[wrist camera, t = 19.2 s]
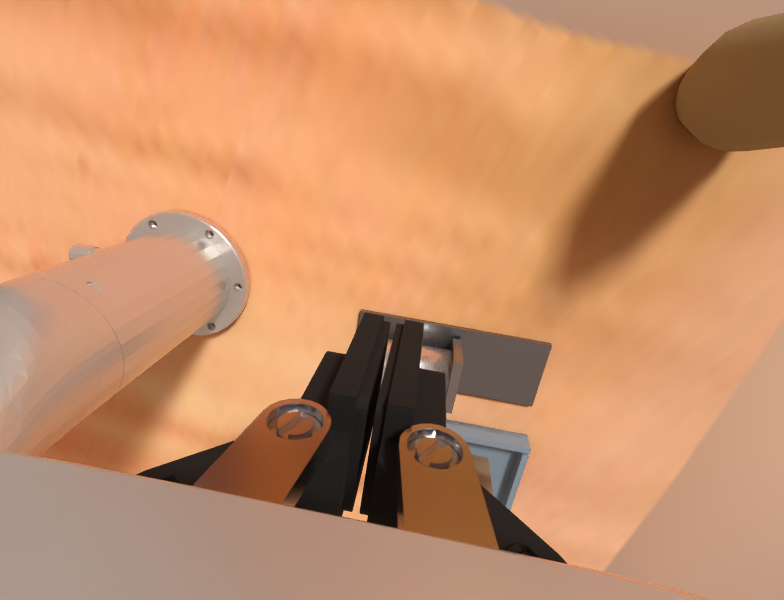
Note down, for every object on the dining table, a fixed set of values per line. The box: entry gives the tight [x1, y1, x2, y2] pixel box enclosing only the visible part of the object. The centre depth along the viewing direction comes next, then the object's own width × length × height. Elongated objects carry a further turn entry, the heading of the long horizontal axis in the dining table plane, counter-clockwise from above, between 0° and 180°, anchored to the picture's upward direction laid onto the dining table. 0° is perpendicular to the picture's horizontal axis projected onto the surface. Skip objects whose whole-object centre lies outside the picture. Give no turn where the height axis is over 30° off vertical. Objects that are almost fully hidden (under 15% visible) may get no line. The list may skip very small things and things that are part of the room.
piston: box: [381, 338, 463, 414], centre depth 39 cm, size 9×5×5 cm, turn 81°
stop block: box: [472, 455, 493, 495], centre depth 43 cm, size 4×4×6 cm
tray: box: [446, 420, 531, 510], centre depth 45 cm, size 11×11×2 cm
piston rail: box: [359, 309, 552, 406], centre depth 42 cm, size 18×7×1 cm, turn 81°
